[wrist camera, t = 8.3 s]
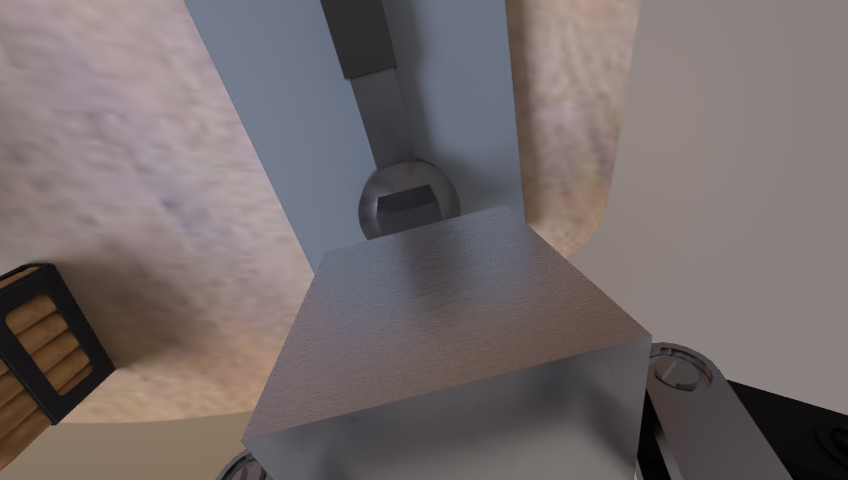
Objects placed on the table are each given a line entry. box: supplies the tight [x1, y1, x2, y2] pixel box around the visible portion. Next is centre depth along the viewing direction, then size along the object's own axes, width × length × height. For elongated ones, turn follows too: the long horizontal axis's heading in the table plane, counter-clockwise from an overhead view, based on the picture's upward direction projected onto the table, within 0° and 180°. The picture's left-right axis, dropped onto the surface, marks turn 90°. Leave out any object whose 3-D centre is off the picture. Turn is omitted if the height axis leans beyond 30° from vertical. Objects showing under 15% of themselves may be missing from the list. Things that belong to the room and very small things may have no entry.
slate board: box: [184, 0, 525, 274], centre depth 19 cm, size 20×16×2 cm
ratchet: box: [320, 0, 461, 240], centre depth 16 cm, size 17×6×6 cm, turn 14°
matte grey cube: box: [241, 205, 652, 480], centre depth 8 cm, size 6×6×6 cm
